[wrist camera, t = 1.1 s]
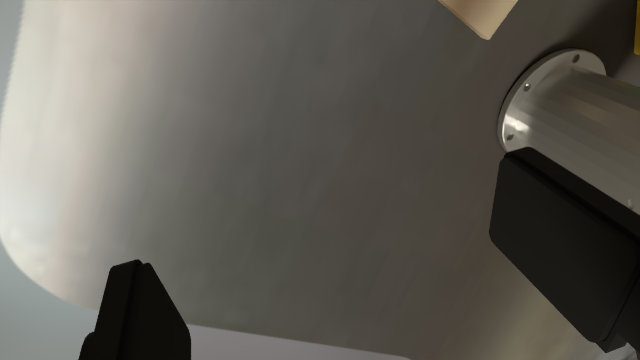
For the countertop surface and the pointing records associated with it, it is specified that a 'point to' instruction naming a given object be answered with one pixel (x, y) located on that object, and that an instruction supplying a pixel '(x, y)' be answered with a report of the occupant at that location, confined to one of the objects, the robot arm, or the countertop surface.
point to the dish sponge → (637, 30)
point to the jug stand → (480, 13)
